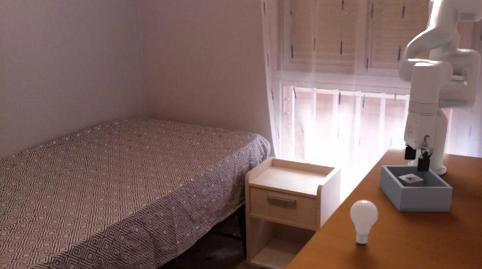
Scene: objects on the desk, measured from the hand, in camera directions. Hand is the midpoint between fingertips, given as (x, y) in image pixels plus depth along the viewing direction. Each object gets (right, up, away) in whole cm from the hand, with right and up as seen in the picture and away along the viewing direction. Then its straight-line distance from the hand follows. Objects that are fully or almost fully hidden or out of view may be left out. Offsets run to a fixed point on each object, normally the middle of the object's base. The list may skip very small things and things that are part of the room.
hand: (416, 165), depth 132 cm
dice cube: (-1, -9, +3) cm, 9 cm away
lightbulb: (-22, -17, -22) cm, 36 cm away
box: (0, -10, +3) cm, 10 cm away
